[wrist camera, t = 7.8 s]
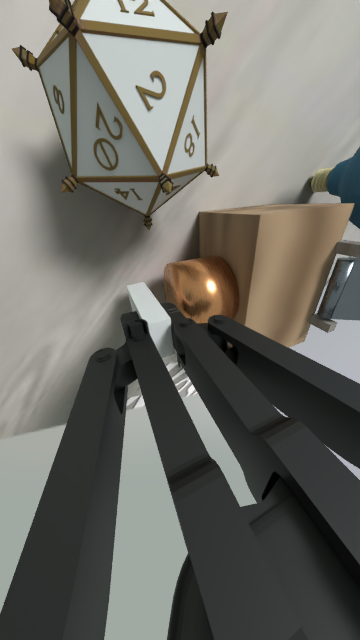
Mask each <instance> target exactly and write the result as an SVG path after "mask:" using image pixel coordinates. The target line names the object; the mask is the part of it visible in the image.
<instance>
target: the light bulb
mask: <svg viewBox="0 0 360 640" xmlns="http://www.w3.org/2000/svg"><path fill="white" fill-rule="evenodd" d="M311 188H312V191H313V192H323V191H328V192H329V194H331V195H336V196H339V197H340V198H341V203H355V204H354V207H353V209H352V212H351V215H350V218H349V221H350V222H352V223H353V224H354V225H355V226H357V227H358V228H359V229H360V147H359V149H358V150H357V152H356V153H355V154H354V156H353V157H351V158H350V159H348V160H345V161H343V162H340V163H339V164H337V165H336V166H335V167H333V168H326V169H320V170H319V171H317V172H316V174H315V175H314V178H313V179H312V181H311Z"/></svg>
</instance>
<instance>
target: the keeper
mask: <svg viewBox="0 0 360 640" xmlns="http://www.w3.org/2000/svg"><path fill="white" fill-rule="evenodd" d="M317 315H318V316H320V317H322V318H326V319H343V320H360V258H338V259H337V262H336V264H335V267H334V270H333V272H332V275H331V278H330V280H329V283H328V286H327V289H326V291H325V294H324V297H323V299H322V302H321V305H320V307H319V310H318V313H317Z"/></svg>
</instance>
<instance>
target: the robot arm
mask: <svg viewBox="0 0 360 640" xmlns="http://www.w3.org/2000/svg"><path fill="white" fill-rule="evenodd" d="M127 291H128V295H129V299H130V303H131V307H132V312H130V313H126V314H122V316H121V318H120V319H121V322H122V326H123V329H124V333H125V336H126V342H125V344H124V345H123V346H122V347H120V348H119V349H117V350H114V349H112V348H104V349H100V350H98V351H96V352H95V353H94V354H93V355H92V356H91V357H90V359H89V362H88V365H87V368H86V371H85V373H84V376H83V379H82V382H81V385H80V388H79V391H78V393H77V396H76V399H75V402H74V405H73V408H72V411H71V413H70V416H69V419H68V422H67V425H66V428H65V431H64V433H63V436H62V439H61V442H60V445H59V448H58V451H57V454H56V456H55V459H54V462H53V465H52V468H51V471H50V473H49V476H48V479H47V482H46V485H45V488H44V491H43V494H42V497H41V499H40V502H39V505H38V508H37V511H36V513H35V517H34V519H33V522H32V525H31V528H30V531H29V533H28V537H27V539H26V542H25V545H24V548H23V551H22V553H21V556H20V559H19V562H18V565H17V568H16V571H15V573H14V576H13V579H12V582H11V585H10V588H9V591H8V594H7V597H6V599H5V602H4V605H3V608H2V611H1V613H0V640H104V636H105V627H106V619H107V611H108V603H109V593H110V582H111V570H112V560H113V548H114V537H115V525H116V515H117V504H118V493H119V492H118V491H119V482H120V469H121V459H122V448H123V437H124V426H125V415H126V403H127V392H128V386H127V385H129V384H130V383H132V382H133V381H135V380H136V379H138V382H139V385H140V389H141V392H142V395H143V399H144V402H145V406H146V409H147V412H148V416H149V419H150V423H151V426H152V429H153V433H154V437H155V440H156V443H157V446H158V450H159V454H160V457H161V461H162V464H163V468H164V471H165V474H166V478H167V481H168V485H169V488H170V491H171V495H172V498H173V502H174V505H175V508H176V512H177V516H178V519H179V522H180V526H181V530H182V532H183V536H184V540H185V543H186V547H187V550H188V555H187V557H186V559H185V561H184V563H183V566H182V568H181V571H180V574H179V577H178V580H177V585H176V588H175V593H174V597H173V603H172V609H171V616H170V622H169V629H168V636H167V640H360V480H359V479H358V478H357V477H356V476H355V475H354V474H353V473H352V472H351V471H350V470H349V469H348V468H347V467H346V466H345V465H344V464H343V463H342V462H341V461H340V460H339V459H338V458H337V457H336V456H335V455H334V454H333V453H332V452H331V451H330V450H329V449H328V448H330V449H331V450H332V451H334V452H335V453H337V454H338V455H339V456H341V457H342V458H344V459H345V460H347V461H348V462H350V463H351V464H353V465H354V466H356V467H358V468H359V469H360V384H359V383H357V382H355V381H353V380H351V379H349V378H347V377H345V376H343V375H341V374H339V373H337V372H335V371H333V370H331V369H329V368H327V367H325V366H323V365H321V364H319V363H317V362H315V361H313V360H311V359H310V358H307V357H305V356H304V355H302V354H300V353H297V352H296V351H294V350H292V349H290V348H288V347H286V346H284V345H282V344H280V343H278V342H276V341H274V340H272V339H270V338H268V337H266V336H264V335H262V334H260V333H258V332H256V331H254V330H252V329H250V328H248V327H246V326H244V325H242V324H240V323H238V322H236V321H234V320H232V319H230V318H228V317H226V316H224V315H213V316H211V317H209V319H208V323H196V322H195V321H194V320H193V319H190V318H186V317H185V316H184V315H183V314H182V313H181V312H180V311H179V309H178V308H177V307H176V306H175V305H174V304H172V303H170V302H168V303H164V304H160V303H159V302H158V300H157V299H156V298H155V296H154V295H153V294H152V292H151V291H150V290H149V288H148V287H147V286H146V284H145V283H144V282H142V283H137V284H133V285H128V286H127ZM228 342H229V343H230V344H232V347H230V346H228ZM174 348H175V350H176V351H177V359H178V366H179V367H180V363H181V365H182V367H183V368H184V370H185V372H186V373H187V375H188V377H189V379H190V380H191V382H192V384H193V385H194V387H195V389H196V391H197V392H198V394H199V396H200V397H201V399H202V401H203V402H204V404H205V406H206V408H207V409H208V411H209V412H210V414H211V416H212V418H213V419H214V421H215V423H216V425H217V426H218V428H219V429H220V431H221V433H222V435H223V437H224V438H225V440H226V442H227V443H228V445H229V447H230V448H231V450H232V452H233V453H234V455H235V457H236V459H237V460H238V462H239V464H240V466H241V468H242V470H243V472H244V476H245V479H246V482H247V485H248V487H249V489H250V491H251V493H252V495H253V497H254V498H255V500H256V502H257V504H252V505H248V506H243V507H240V506H239V504H238V502H237V500H236V498H235V496H234V494H233V492H232V490H231V489H230V486H229V484H228V482H227V480H226V478H225V476H224V474H223V473H222V471H221V469H220V467H219V465H218V464H217V463H216V461H215V460H213V459H212V458H211V457H210V456H209V454H208V452H207V450H206V448H205V446H204V444H203V442H202V440H201V438H200V436H199V434H198V432H197V430H196V427H195V425H194V424H193V421H192V419H191V417H190V415H189V413H188V411H187V409H186V407H185V405H184V403H183V401H182V399H181V397H180V395H179V393H178V391H177V389H176V387H175V385H174V382H173V380H172V378H171V376H170V374H169V372H168V370H167V368H166V366H165V364H164V362H163V360H162V358H163V357H166V356H169V355H172V354H175V351H174ZM274 406H275V407H276V408H277V409H279V410H280V411H281V412H283V413H284V414H285V415H287V416H288V417H284V416H283V415H282V414H280V413H279V412H278V411H277V409H276V408H275V407H274ZM325 445H326V446H327V447H328V448H327V447H326V446H325Z"/></svg>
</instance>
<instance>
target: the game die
mask: <svg viewBox="0 0 360 640" xmlns="http://www.w3.org/2000/svg"><path fill="white" fill-rule="evenodd" d="M49 3H50V5H49V10H50V11H51V12H52V13H53V14H54V15H55V16H56V17H57V21H58V22H59V23H60V24H59V26H58V27H57V29H56V30H55V32H54V34H53V35H52V37H51V38H50V40H49V41H48V43H47V44H46V46H45V48H44V49H43V51H42V52H41V54H40V55H39V57H38V58H35V57H34V56H33V54H32V53H31V52H30V51H28V50H27V51H26V49H25V48H24V47H22V46H21V45H20V47H17V48H13V49H12V50H13V52H14V53H15V54H16V56H17V57H18V58H19V60H20V61H21V62H22V65H23V67H25V66H26V67H28V68H29V69H30V70H31V71H32V69H33V70H37V71H38V72H39V75H40V78H41V81H42V84H43V87H44V90H45V93H46V96H47V99H48V102H49V105H50V109H51V112H52V115H53V118H54V121H55V124H56V127H57V130H58V133H59V136H60V139H61V142H62V145H63V148H64V151H65V154H66V158H67V161H68V164H69V167H70V170H71V173H72V176H71V177H65V178H66V179H65V180H64V181H63V180H62V190H61V192H72V193H73V190H74V189H76V186H77V184H78V183H80V184H82V185H84V186H86V187H88V188H90V189H92V190H94V191H96V192H98V193H100V194H102V195H104V196H106V197H108V198H110V199H112V200H114V201H116V202H118V203H120V204H122V205H124V206H126V207H128V208H130V209H132V210H134V211H136V212H138V213H140V214H142V215H144V216H145V219H144V222H145V224H144V225H145V226H146V227H147V228H148V230H150V228H151V225H152V223H151V221H152V219H151V218H150V215H151V214H152V213H153V212H155V211H156V210H157V209H158V208H159V207H161V206H162V205H163V204H164V203H166V202H167V201H168V200H169V199H170V198H172V197H173V196H174V195H175V194H177V193H178V192H179V191H180V190H181V189H183V188H184V187H185V186H186V185H188V184H189V183H190V182H191V181H192V180H194V179H195V178H196V177H197V176H199V175H200V174H201V173H202V172H203V171H206V172H207V174H208V175H210V177H213V176H219V174H218V171H217V169H216V166H215V167H214V166H213V164H211V165H208V164H207V99H206V47H207V46H208V45H210V44H212V45H214V42H215V40H216V39H217V38H218V39H219V38H220V36H221V30H222V27H223V24H224V21H225V19H226V16H227V13H228V12H224V13H217V14H215V13H214V12H212V13H211V15H212V16H211V18H210V19H209V21H207V20H206V22H205V23H206V25H205V28H204V30H203V32H202V33H199V32H198V31H197V30H196V29H195V28H194V27H193V26H192V25H191V24H190V23H189V22H188V21H187V20H186V19H185V18H183V17H182V16H181V15H180V14H179V13H178V12H177V11H176V10H175V9H174V8H173V7H172V6H171V5H170V4H168V3H167V2H166V1H165V0H75V1H74V3H73V4H72V6H71V3H70V1H69V0H49Z"/></svg>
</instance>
